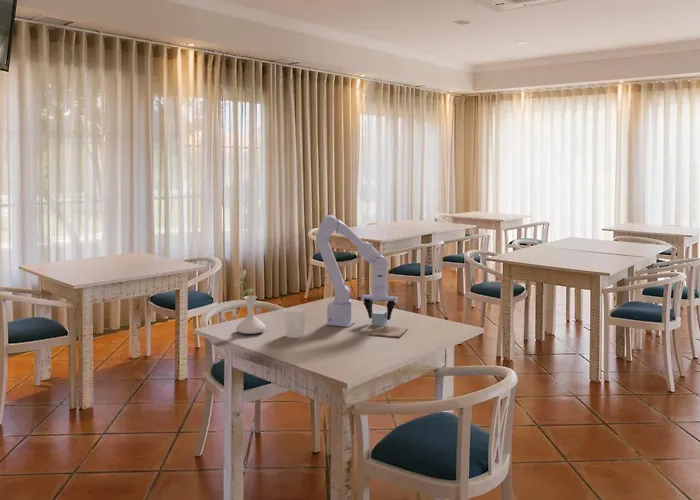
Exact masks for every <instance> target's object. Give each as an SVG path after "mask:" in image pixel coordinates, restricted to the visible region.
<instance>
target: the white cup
mask: <svg viewBox="0 0 700 500" xmlns="http://www.w3.org/2000/svg"><path fill="white" fill-rule="evenodd" d="M305 313H306V309H305V308H303V307H287V308H284V309H283V317H284V318H283V320H284V330H285V333H284V334H285V337H286V338H289V339H299V337H300V338H303V337H304V335H305V319H306V318H305V317H306V314H305Z"/></svg>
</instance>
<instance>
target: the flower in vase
mask: <svg viewBox="0 0 700 500" xmlns="http://www.w3.org/2000/svg"><path fill="white" fill-rule="evenodd" d="M246 275H247V270H246V269H243V270H241V271H240V272H239V275H237V276H236V279H235V280H234V282H233V287H234V288H237V287H238V286H240V285H241V283H242V282H243V284H244V286H245V290H243V291H242V292H241V293H240V297H243V299H244V300H245V302H246V307H247V315H246V316H245V318H244V319H243V320H241V322H239V323H238V324H237V325H236V328H235V330H236V331H237V332H238V333H241V334H246V335H256V334H260V333H262V332H264V331H265V330H266V328H267V326H266V324H265V323H263V321H261V320H259V319H258V318H257V317H256V316H255V313H254V307H255V301H256V299H257V298H258V296H256V295H252V294H254V292H255V290H254V287H253V286H250V288H248V287H247V284H246V282H245V280H244V279H245V277H246ZM246 294H247V295H246ZM245 295H246V296H245Z"/></svg>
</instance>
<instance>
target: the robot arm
mask: <svg viewBox="0 0 700 500" xmlns="http://www.w3.org/2000/svg"><path fill="white" fill-rule="evenodd" d="M334 232H335V234H339V235H343V236H344V238H346V239H347V240H348V241H349V242H351V243H352V244H353V245H354V246H355V247H356V248H357V253H358V254H359V255H360V256H361V257H362V258H364V260H365V261H367V263H368V264H369V263H370V264H371V265H372V294H362V295H361V301H363V305H364V307H365V309H366V312H367V315H368V319H369V320H370V319H371V320H372V313H373V304H374V303H373V302H375V301H376V302H387V303H386V309H387V310H386V311H387V321H390V320H391V317H392V313H393V309H394V307H395V306H396V303H398V300H399V297H398V296H393V295H388V274H387V271H388V270H387V268H388V265H389V264H388V261H387V258H386V257H385V255H383V254H382V252H381V251H379V250H377V249H376V248H375V247H374V245H373V243H372V242H368V241H363V240H362V239H361V238H360V237H359V236H358V235H357V234H356V233H355V232H354V231H353V230H352V229H351V228H350V227H349V226H348V225H347V224H346V223H344V222H343V221H342V220H341V219H338V218H337V216H335V215H334V214H327V215H325V216H324V217H323V219H322V220H321V222H320V223H319V225H318V230H317V233H316V234H317V235H316V238H315V242H316V246H317V248H318V251H319V252H320V256H321V257H322V260H323V264H324V266H325V268H326V270H327V274H328V275H329V278H330V280H331V284H332V289H333V291H334V295H333V297H334V300H333V301H329V302H328V304H327V307H326V324H325V325H326V326H335V327H345V328H346V327H347V328H349V327H350V326H352V325H354V323H356V321H355V320H352V300H351V288H350V286H349V285H347V283H346V281H345V280H344V278H343V275H342V272H341V271H340V267H339V265H338V262H337V260H336V257H335V254H334V252H333V249H332V247H331V244H330V241H329V240H330V238H331V236H332V235H333V234H334Z"/></svg>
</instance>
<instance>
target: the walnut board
mask: <svg viewBox="0 0 700 500" xmlns="http://www.w3.org/2000/svg"><path fill="white" fill-rule="evenodd" d="M408 329H409V328H407V327H398V326H397V327H394V326H386V325H384V326H376V327H375V328H373V330H371V331H370V332H369V333H368V336H373V337H383V338H395V339H401V337H402V336H403V335H405V333H407V331H408Z"/></svg>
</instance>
